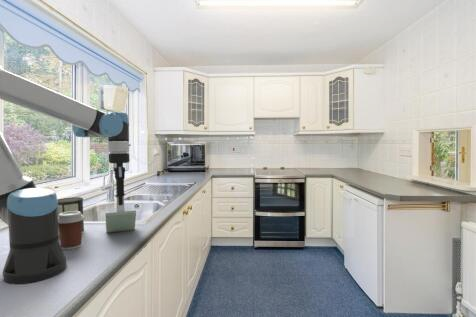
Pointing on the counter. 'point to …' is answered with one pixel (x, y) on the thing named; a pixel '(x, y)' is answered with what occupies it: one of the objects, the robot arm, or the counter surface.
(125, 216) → the green square panel
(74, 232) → the coffee cup
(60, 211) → the coffee can
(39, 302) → the counter surface
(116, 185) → the robot arm
